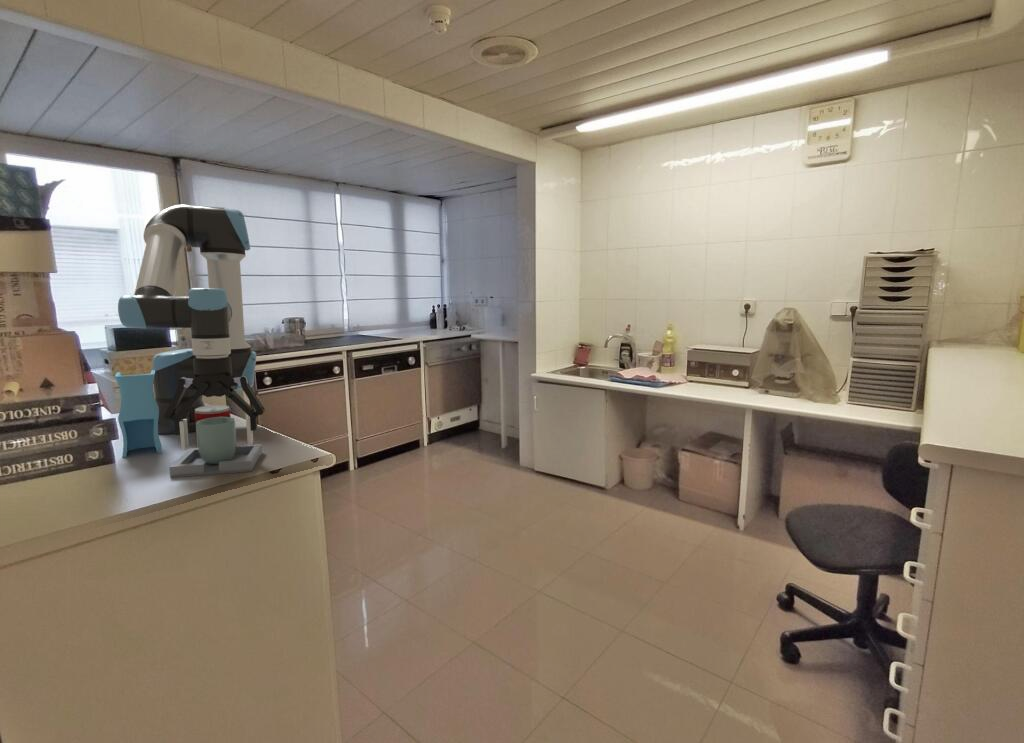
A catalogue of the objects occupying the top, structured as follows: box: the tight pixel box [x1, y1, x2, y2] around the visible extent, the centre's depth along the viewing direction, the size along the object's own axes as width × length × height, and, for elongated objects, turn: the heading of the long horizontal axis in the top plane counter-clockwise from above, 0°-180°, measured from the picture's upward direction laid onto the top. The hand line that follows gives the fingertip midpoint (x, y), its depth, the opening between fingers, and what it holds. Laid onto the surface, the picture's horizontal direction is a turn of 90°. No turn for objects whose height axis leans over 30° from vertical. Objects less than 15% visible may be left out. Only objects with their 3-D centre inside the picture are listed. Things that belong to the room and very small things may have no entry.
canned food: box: [195, 404, 231, 448], centre depth 128 cm, size 8×8×11 cm
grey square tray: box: [169, 443, 263, 478], centre depth 117 cm, size 14×16×2 cm
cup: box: [195, 416, 237, 464], centre depth 117 cm, size 8×8×10 cm
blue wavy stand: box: [114, 369, 163, 459], centre depth 125 cm, size 8×8×20 cm
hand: (218, 445), depth 117 cm, fingers open, 13 cm apart
